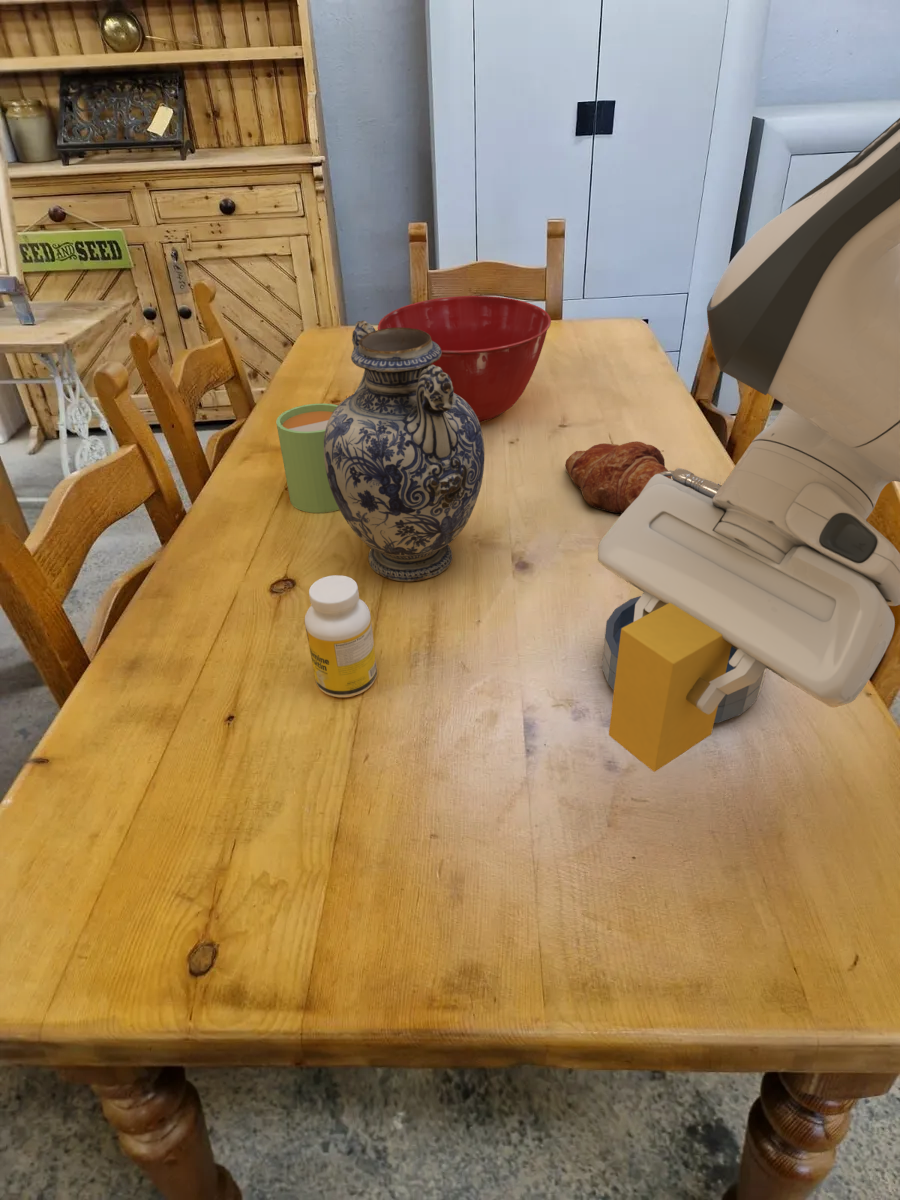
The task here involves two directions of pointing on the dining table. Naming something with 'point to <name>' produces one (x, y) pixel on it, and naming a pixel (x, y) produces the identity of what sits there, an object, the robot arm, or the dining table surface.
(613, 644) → the bowl
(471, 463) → the decorative vase
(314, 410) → the mug
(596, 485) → the pastry
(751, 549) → the robot arm
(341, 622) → the pill bottle
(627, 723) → the yellow rectangular block
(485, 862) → the dining table surface
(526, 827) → the dining table surface
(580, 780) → the dining table surface
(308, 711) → the dining table surface
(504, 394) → the mixing bowl
